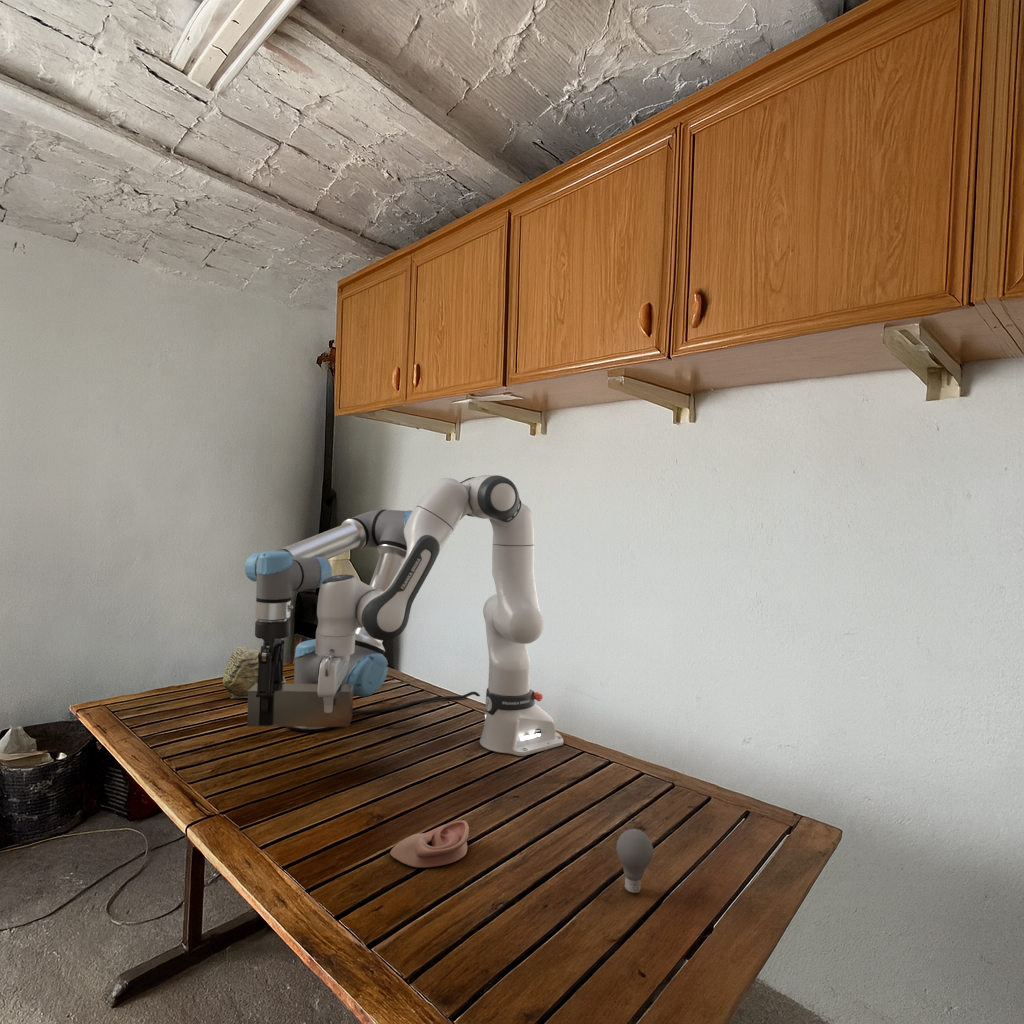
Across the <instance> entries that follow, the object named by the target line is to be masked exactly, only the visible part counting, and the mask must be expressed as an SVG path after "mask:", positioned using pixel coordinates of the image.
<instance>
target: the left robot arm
mask: <svg viewBox="0 0 1024 1024" xmlns="http://www.w3.org/2000/svg"><path fill="white" fill-rule="evenodd" d="M412 512H413V510H400V509H399V510H397V509H387V508H386V509H383V508H381V509H374V510H369V511H367V512H363V513H360V514H358V515H355V516H352V517H350V518H347V519H345V520H343V522H341V525H338V526H336V527H334V528H330V529H328V530H326V531H323V532H321V533H318V534H315V535H313V536H310V537H307V538H305V539H303V540H300V541H297V542H294V543H292V544H289V545H287V546H284V547H282V548H279V549H276V550H272V551H270V550H267V551H261V552H254V553H252V554H250V555H249V556H248V557H247V559H246V560H245V562H244V563H245V564H244V572H245V575H246V577H247V578H248V579H249V580H250V581H252V582H254V583H256V593H255V596H256V598H255V615H254V618H255V619H256V621H255V622H254V637H255V638H256V639H261V640H263V641H262V642H263V643H262V645H261V646H260V648H261V652H259V654H258V662H259V665H258V686H257V694H256V697H260V708H259V726H271V725H272V717H273V696H272V688H273V684H284V682H281V681H283V676H284V660H285V659H284V657H285V653H284V651H285V644H286V643H285V638H288V637H289V636H290V634H291V620H290V617H291V610H293V609H294V605H292V604H291V603H292V594H293V593H292V592H295V591H302V590H310V589H314V590H315V589H318V588H320V586H321V584H322V582H323V581H324V580H325V579H327V578H329V577H332V575H333V569H332V568H333V567H332V565H331V563H330V561H329V560H330V559H332V558H335V557H337V556H339V555H341V554H345V553H346V552H349V551H351V550H352V551H360V550H362V549H365V548H377V551H378V553H379V558H378V561H377V563H376V567H375V569H374V571H373V573H372V574H373V575H372V577H371V580H370V583H369V584H368V585H369V586H372V587H374V588H378V589H381V590H383V591H385V590H387V589H388V587H389V586H390V584H391V582H392V581H393V579H394V577H395V576H396V574H397V572H398V571H399V569H400V567H401V565H402V564H403V562H404V560H405V558H406V554H407V544H406V541H405V537H404V528H405V525H406V523H407V521H408V518H409V517H410V515H411V513H412ZM315 642H316V638H313V639H308V640H304V641H302V642H299V643H298V644H297V645H296V647H295V652H294V653H295V654H294V657H293V658H294V660H293V662H294V663H293V665H294V666H293V684H318V678H319V669H320V664H321V662H322V661H321V660H320V657H321V656H319V655H317V654H316V653H315ZM383 642H384V640H377V639H375V638H373V637H371V636H370V635H369V634H368V633H367V631H366V630H365V629H364V628H357V629H356V632H355V652H354V653H353V654H352V655H350V660H349V666H348V671H347V674H346V676H345V677H344V679H343V681H342V684H353V697H361V698H367V697H370V696H372V695H373V694H374V693H377V692H378V691H379V690H380V689H381V687H382V686H383V685H384V682H385V681H386V679H387V676H388V671H389V667H388V665H389V663H388V659H387V658H386V657H385V653H386V649H385V647H384V644H383ZM472 695H473V696H474V695H475V696H476V697H481V695H480V693H478V692H477V691H470V692H467V693H465V694H462V695H450V696H436V697H428V698H422V699H417V700H413V701H408V702H406V703H403V704H399V705H394V706H389V707H383V708H375V709H374V708H373V709H359V710H357V709H356V710H352V715H355V714H356V715H358V714H360V715H362V714H375V713H383V712H389V711H395V710H400V709H404V708H406V707H409V706H413V705H418V704H422V703H427V702H434V701H442V700H443V701H444V700H459V699H461V700H462V699H465V698H468V697H470V696H472ZM335 728H336V727H287V729H289V730H291V731H294V732H295V731H296V732H301V733H316V732H325V731H329V730H332V729H335Z"/></svg>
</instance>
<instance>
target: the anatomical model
mask: <svg viewBox="0 0 1024 1024" xmlns="http://www.w3.org/2000/svg"><path fill="white" fill-rule="evenodd" d="M469 834H470V828H469V824H468V822H467V821H466V820H463V819H462V820H455V821H451V822H447V823H446V824H443V825H440V826H438V827H436V828H434V829H433V828H432V829H431V830H429V831H426V832H423V833H415V834H412V835H409V836H407V837H405V838H404V839H402V840H401V841H399V842H398V843H397V844H395V845H394V846H393V847H392V848H391V850H390V852H389V854H390V856H392V858H393V859H395V860H396V861H399V862H400V863H402V864H404V865H407V866H409V867H412V868H417V869H418V868H422V869H423V868H433V867H439V866H445V865H449V864H452V863H454V862H457V861H459V860H461V859H463V857H465V856H466V855H467V852H468V842H467V841H468V839H469V836H470V835H469Z"/></svg>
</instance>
